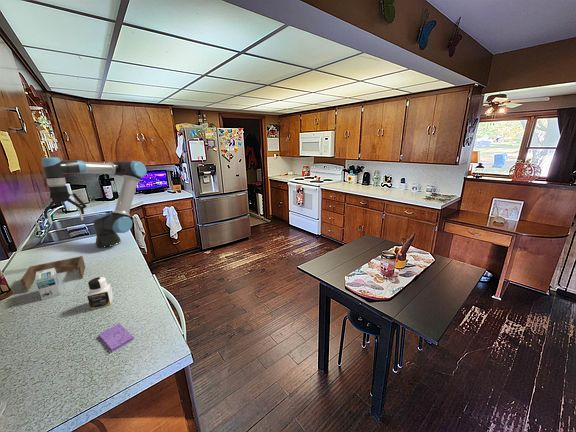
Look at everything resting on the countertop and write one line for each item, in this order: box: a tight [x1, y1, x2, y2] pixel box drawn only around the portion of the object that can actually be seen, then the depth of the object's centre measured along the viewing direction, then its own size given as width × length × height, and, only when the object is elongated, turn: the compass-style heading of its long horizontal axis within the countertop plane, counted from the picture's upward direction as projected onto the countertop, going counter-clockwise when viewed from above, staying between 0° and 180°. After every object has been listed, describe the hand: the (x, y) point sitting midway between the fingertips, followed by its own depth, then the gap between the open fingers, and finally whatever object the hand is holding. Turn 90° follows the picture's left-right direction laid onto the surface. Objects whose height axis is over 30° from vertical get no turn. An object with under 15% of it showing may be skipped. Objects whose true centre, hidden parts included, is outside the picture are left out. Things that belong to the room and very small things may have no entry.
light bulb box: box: [34, 268, 62, 301], centre depth 112 cm, size 11×7×11 cm, turn 45°
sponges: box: [98, 322, 135, 353], centre depth 86 cm, size 7×13×2 cm, turn 55°
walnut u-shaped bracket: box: [20, 255, 86, 293], centre depth 126 cm, size 22×17×7 cm
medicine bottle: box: [86, 276, 114, 310], centre depth 104 cm, size 7×7×12 cm
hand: (67, 221), depth 137 cm, fingers open, 13 cm apart
